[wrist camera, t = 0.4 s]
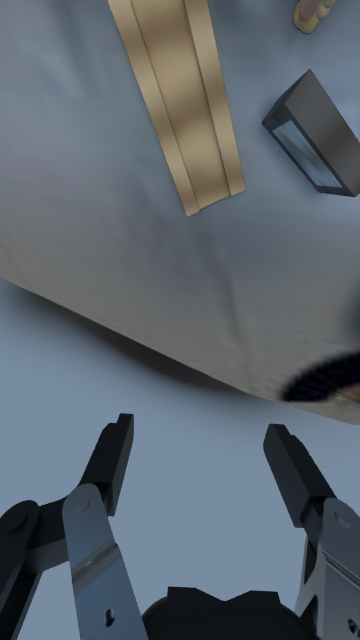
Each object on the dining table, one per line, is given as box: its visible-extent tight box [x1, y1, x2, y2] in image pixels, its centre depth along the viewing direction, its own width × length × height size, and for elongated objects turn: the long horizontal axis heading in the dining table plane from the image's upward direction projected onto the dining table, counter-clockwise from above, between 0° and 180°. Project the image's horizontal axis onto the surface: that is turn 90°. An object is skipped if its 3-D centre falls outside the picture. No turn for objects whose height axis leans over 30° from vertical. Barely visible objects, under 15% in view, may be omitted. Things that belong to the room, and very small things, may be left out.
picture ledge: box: [108, 0, 246, 217], centre depth 23 cm, size 20×8×4 cm, turn 23°
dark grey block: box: [262, 69, 360, 197], centre depth 22 cm, size 12×3×8 cm, turn 53°
